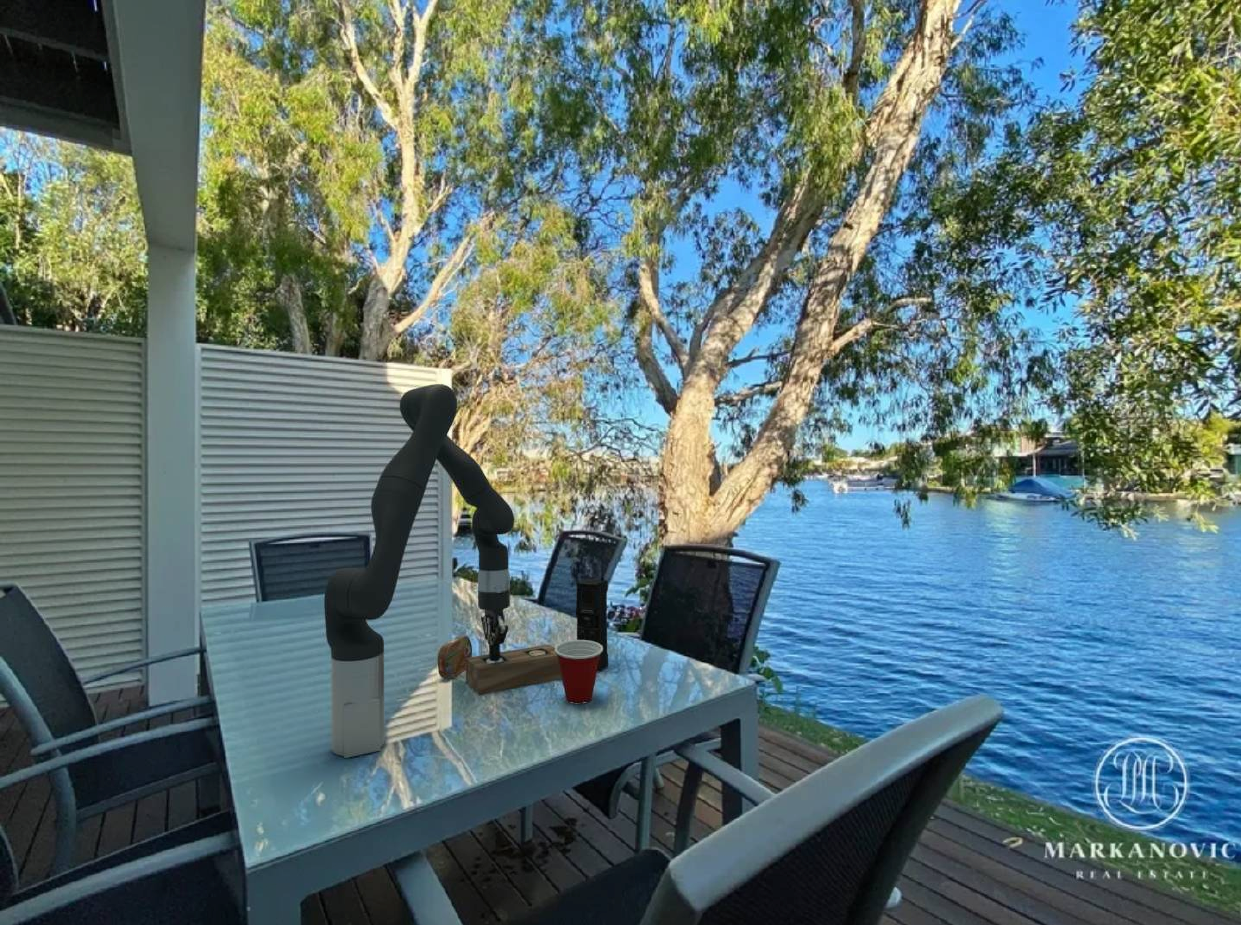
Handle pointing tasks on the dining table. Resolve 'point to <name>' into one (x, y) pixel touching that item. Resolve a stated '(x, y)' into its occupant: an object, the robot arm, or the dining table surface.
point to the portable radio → (593, 614)
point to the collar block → (512, 670)
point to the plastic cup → (578, 668)
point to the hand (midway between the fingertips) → (494, 659)
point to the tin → (454, 657)
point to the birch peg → (536, 652)
